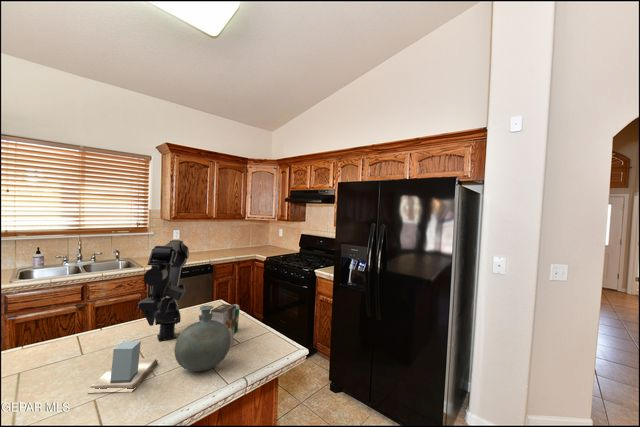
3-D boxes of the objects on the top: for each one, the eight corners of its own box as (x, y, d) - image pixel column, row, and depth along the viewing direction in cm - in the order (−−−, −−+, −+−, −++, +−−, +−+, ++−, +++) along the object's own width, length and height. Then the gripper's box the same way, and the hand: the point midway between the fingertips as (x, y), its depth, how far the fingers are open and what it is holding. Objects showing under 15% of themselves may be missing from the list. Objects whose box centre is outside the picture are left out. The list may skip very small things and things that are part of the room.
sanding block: (120, 373, 80) (123, 341, 81) (137, 373, 81) (140, 341, 82) (110, 383, 76) (113, 348, 76) (128, 382, 76) (132, 348, 77)
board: (120, 364, 89) (121, 358, 89) (157, 363, 91) (157, 357, 91) (87, 393, 73) (88, 386, 74) (132, 392, 75) (133, 385, 75)
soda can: (226, 329, 122) (228, 304, 123) (237, 328, 124) (239, 303, 125) (226, 334, 118) (229, 307, 118) (238, 333, 120) (240, 307, 120)
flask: (184, 360, 94) (189, 300, 95) (231, 362, 94) (236, 302, 96) (167, 379, 82) (173, 310, 83) (220, 381, 83) (226, 313, 84)
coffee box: (220, 340, 111) (223, 303, 112) (233, 342, 110) (236, 305, 111) (207, 350, 102) (210, 309, 103) (221, 353, 101) (225, 311, 102)
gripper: (174, 285, 89) (169, 331, 88) (192, 274, 107) (188, 312, 106) (139, 284, 87) (134, 330, 86) (163, 273, 106) (160, 312, 105)
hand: (157, 320), depth 96 cm, fingers open, 9 cm apart
